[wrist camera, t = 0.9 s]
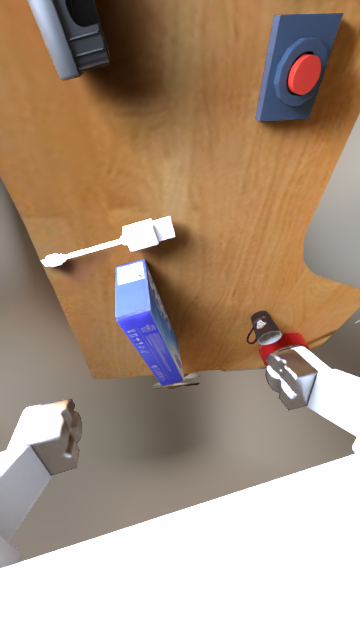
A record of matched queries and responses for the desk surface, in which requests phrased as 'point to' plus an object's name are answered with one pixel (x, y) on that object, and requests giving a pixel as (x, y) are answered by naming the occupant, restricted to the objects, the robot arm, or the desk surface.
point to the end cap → (71, 35)
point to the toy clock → (282, 345)
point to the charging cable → (126, 239)
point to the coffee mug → (264, 329)
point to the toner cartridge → (147, 321)
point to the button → (304, 74)
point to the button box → (284, 49)
